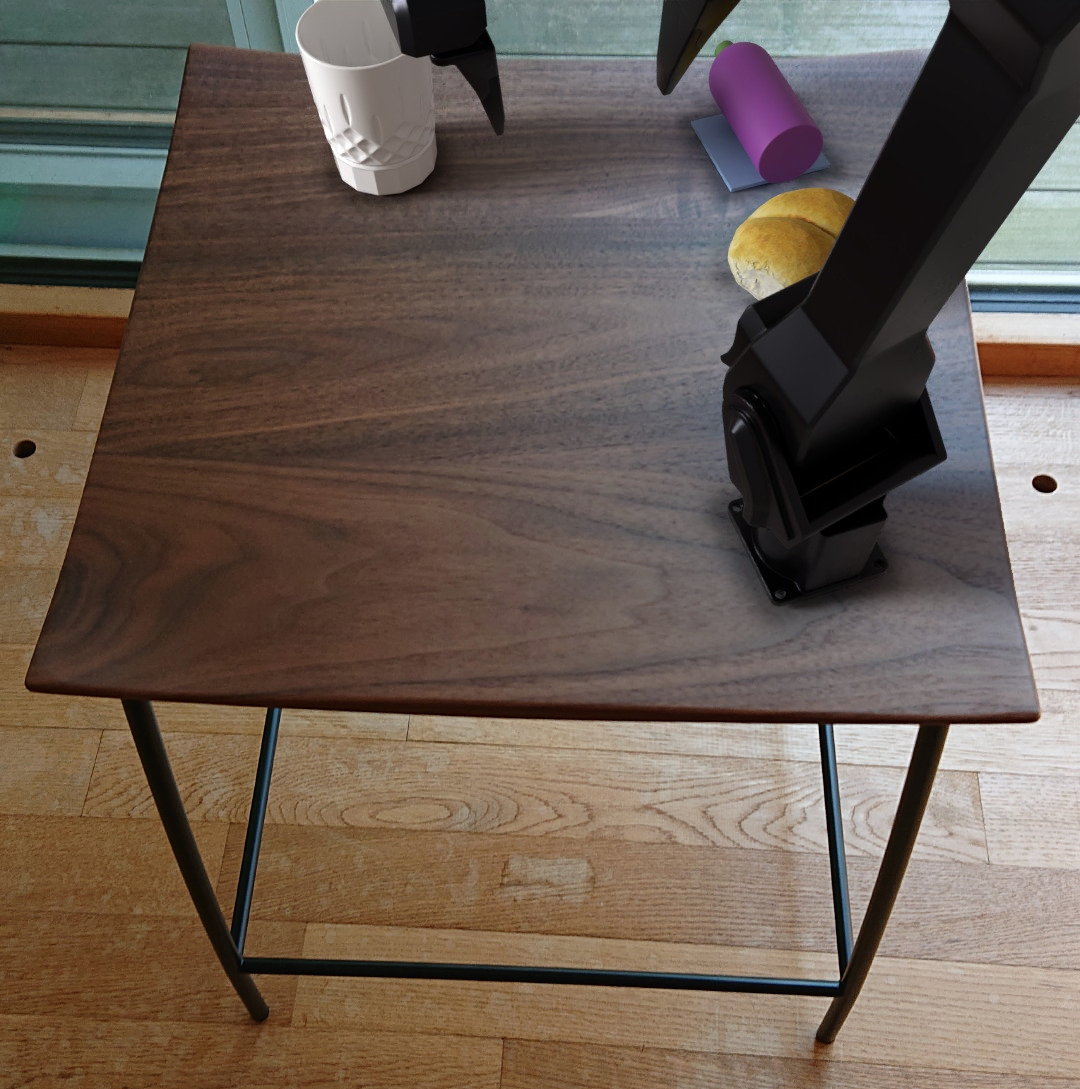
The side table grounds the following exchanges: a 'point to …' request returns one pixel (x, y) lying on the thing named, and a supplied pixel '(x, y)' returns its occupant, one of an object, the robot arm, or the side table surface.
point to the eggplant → (764, 111)
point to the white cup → (369, 96)
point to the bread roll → (787, 239)
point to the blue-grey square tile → (734, 154)
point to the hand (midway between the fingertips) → (581, 110)
